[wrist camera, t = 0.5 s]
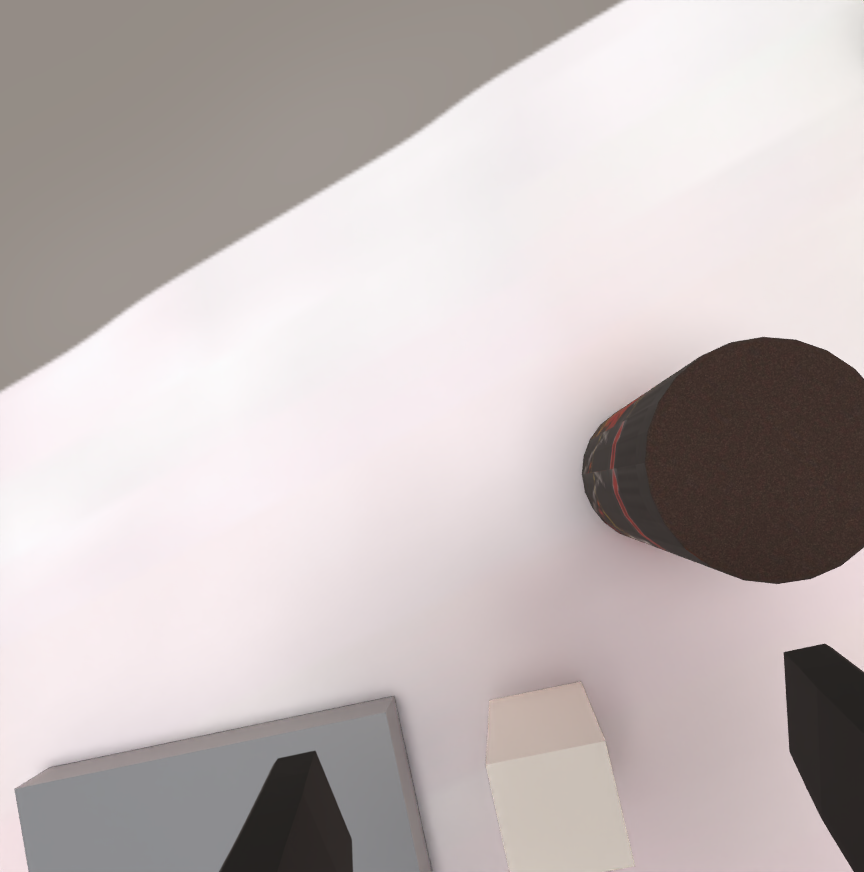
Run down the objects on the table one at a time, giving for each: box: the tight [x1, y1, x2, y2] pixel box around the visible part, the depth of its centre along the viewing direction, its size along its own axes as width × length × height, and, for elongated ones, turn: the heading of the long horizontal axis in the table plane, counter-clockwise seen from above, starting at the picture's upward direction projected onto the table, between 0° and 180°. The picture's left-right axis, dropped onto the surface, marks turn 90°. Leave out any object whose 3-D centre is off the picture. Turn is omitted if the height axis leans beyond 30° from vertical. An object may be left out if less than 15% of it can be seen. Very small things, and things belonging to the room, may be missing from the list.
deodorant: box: [582, 337, 864, 584], centre depth 26 cm, size 6×6×15 cm
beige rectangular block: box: [485, 681, 635, 872], centre depth 30 cm, size 4×4×8 cm
